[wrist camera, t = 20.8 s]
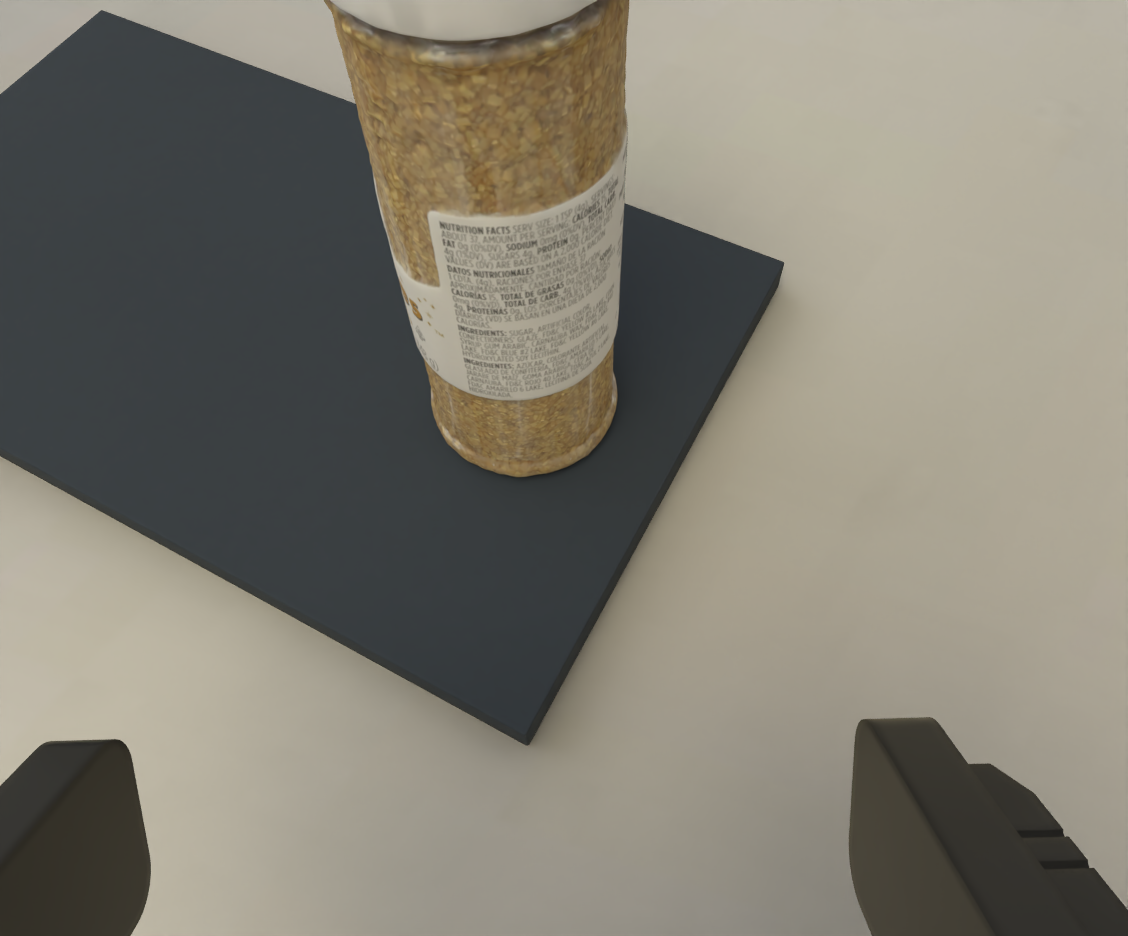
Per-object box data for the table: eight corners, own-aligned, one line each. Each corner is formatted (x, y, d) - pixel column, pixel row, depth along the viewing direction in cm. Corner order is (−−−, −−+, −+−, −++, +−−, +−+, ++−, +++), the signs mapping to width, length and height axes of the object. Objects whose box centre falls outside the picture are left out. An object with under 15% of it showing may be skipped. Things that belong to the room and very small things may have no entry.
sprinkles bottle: (432, 336, 23) (272, -308, 12) (610, 321, 24) (628, -333, 12) (434, 494, 21) (240, -102, 10) (631, 478, 21) (679, -135, 10)
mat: (778, 286, 25) (784, 261, 24) (528, 746, 19) (524, 735, 19) (115, 36, 31) (101, 9, 30) (-228, 330, 25) (-258, 307, 25)
